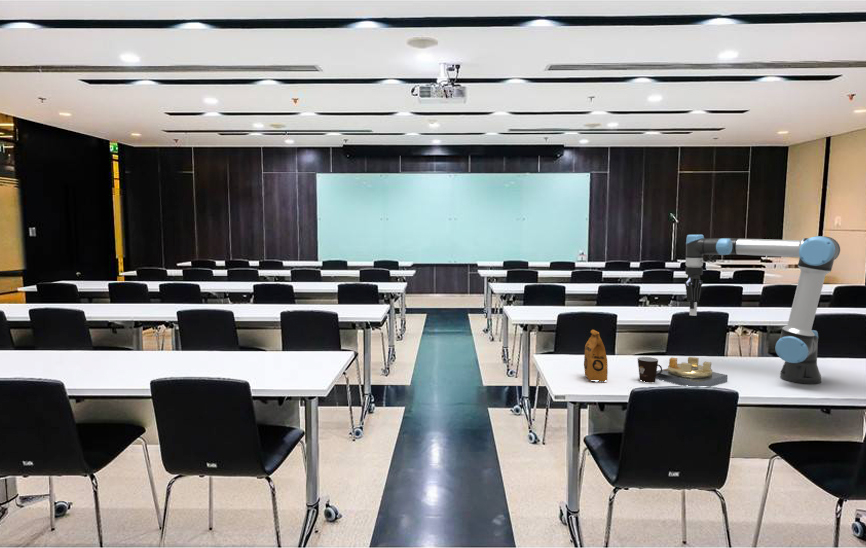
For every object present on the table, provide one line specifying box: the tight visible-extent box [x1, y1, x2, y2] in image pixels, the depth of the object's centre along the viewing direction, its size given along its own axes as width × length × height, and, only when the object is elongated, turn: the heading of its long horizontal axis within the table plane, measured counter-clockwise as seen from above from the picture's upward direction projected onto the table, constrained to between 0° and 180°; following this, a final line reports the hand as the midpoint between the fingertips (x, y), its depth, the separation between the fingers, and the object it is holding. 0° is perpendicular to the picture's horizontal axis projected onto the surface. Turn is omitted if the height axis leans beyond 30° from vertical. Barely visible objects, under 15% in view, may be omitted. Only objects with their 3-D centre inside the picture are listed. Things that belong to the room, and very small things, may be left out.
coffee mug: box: [637, 356, 663, 383], centre depth 239 cm, size 12×9×10 cm
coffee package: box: [583, 329, 609, 381], centre depth 244 cm, size 10×12×22 cm
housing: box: [655, 367, 729, 387], centre depth 242 cm, size 22×22×3 cm
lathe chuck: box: [667, 356, 713, 378], centre depth 241 cm, size 18×18×6 cm
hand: (693, 315), depth 259 cm, fingers closed
